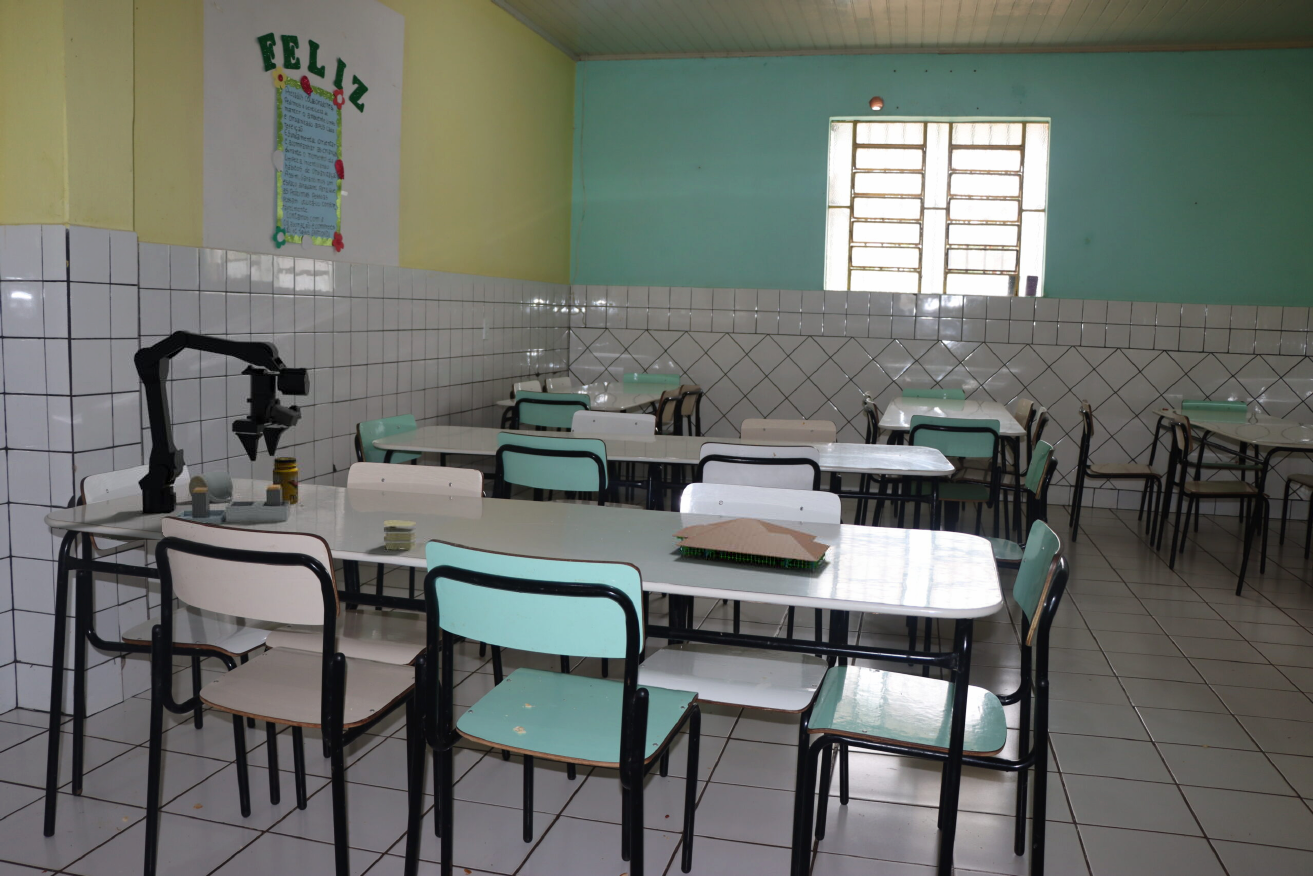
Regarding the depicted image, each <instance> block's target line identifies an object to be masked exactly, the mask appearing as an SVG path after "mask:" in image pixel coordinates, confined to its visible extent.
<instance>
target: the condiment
mask: <svg viewBox="0 0 1313 876" xmlns="http://www.w3.org/2000/svg"><path fill="white" fill-rule="evenodd" d="M273 461H274V464H273V466H274V467H273V469H272V485H280V486H281V487H282V501H290V506H291V505H295V504H298V502H299V469H298V468H297V458H296V457H293V456H292V457H291V456H290V457H289V456H282V457H275V458H274V460H273ZM301 506H305V504H304V503H300V504H299V507H301Z"/></svg>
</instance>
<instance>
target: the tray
mask: <svg viewBox="0 0 1313 876" xmlns="http://www.w3.org/2000/svg"><path fill="white" fill-rule="evenodd" d="M176 516H177V517H183V518H184V519H188V520H192V521H198V522H205V523H213V524H212V525H218V524H220V525H221V524H222V523H223V522H224V521H225V520H226V509H210V518H192V509H183V510H181V511H180V512H179V513H178V514H177V515H176Z"/></svg>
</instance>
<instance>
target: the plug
mask: <svg viewBox="0 0 1313 876" xmlns="http://www.w3.org/2000/svg"><path fill="white" fill-rule="evenodd" d="M210 505H211V504H210V499H209V490H208V488H195V489H194V491H193V492H192V497H191V510H192V518H210V510H211V509H210V508H211V507H210Z"/></svg>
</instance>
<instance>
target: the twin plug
mask: <svg viewBox="0 0 1313 876" xmlns="http://www.w3.org/2000/svg"><path fill="white" fill-rule="evenodd" d="M265 491H266V493H265V494H266V497H265V499H266V500H265V501H266V504H267V506H282V487H281V486H280V485H273V484H269V485H268V486H267V489H266V490H265Z"/></svg>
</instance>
